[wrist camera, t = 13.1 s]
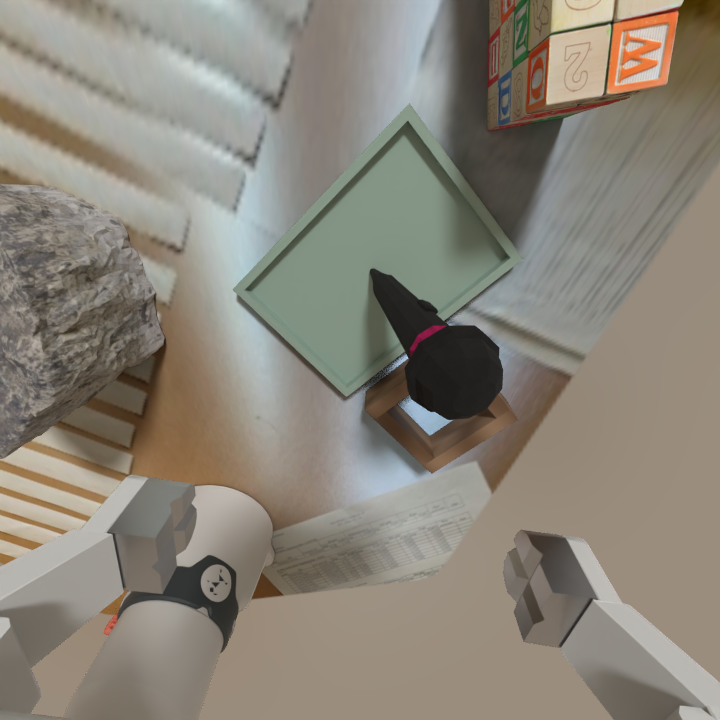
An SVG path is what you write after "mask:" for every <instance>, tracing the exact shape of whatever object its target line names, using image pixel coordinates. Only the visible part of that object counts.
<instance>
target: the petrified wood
mask: <svg viewBox="0 0 720 720" xmlns="http://www.w3.org/2000/svg"><path fill="white" fill-rule="evenodd" d="M155 293H156V292H155V291H154V290H153V288H152V285H151V284H150V282H149V281H148V279H147V278H146V275H145V271H144V268H143V265H142V261H141V259H140V257H139V254H138V252H136V251H135V250H134V249H133V248H132V247H131V244H130V241H129V237H128V233H127V231H126V229H125V227H124V226H123V224H122V222H121V221H120V219H119V218H117V217H115V216H113V215H112V214H110V213H109V212H107V211H105V210H102V209H100V208H98V207H96V206H93V205H90V204H89V203H87V202H86V201H84V200H82V199H81V198H77V197H75V196H73V195H71V194H68V193H66V192H64V191H61V190H59V189H57V188H55V187H42V186H33V185H5V184H0V459H2V458H5V457H7V456H8V455H10V454H11V453H13V452H14V451H16V450H17V449H18V448H20V447H21V446H22V445H24V444H25V443H28V442H30V441H31V440H33V439H34V438H35V437H37V436H40V435H42V434H43V433H44V432H46V431H47V430H48V429H49V428H50V427H51V426H53V425H55V424H56V423H57V422H58V421H60V420H62V419H63V418H65V417H66V416H67V415H69V414H70V413H71V412H73V411H74V410H75V409H76V408H79V407H80V406H82V405H83V404H85V403H87V402H89V400H90V399H91V398H92V397H93V396H95V395H96V394H97V393H98V392H100V391H101V390H102V389H103V388H104V387H105V386H106V385H107V384H108V383H109V382H111V381H113V380H115V379H116V378H117V377H118V375H120V374H121V372H122V371H123V370H124V369H126V368H127V367H132V366H137V365H139V364H140V363H141V362H143V361H144V360H146V359H148V358H149V357H150V355H152V354H153V353H155V352H156V351H157V350H158V349H159V348H160V347H162V346H163V345H164V339H165V337H164V334H163V332H162V330H161V328H160V325H159V322H158V319H157V315H156V309H155V302H154V295H155Z"/></svg>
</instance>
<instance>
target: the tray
mask: <svg viewBox="0 0 720 720" xmlns="http://www.w3.org/2000/svg"><path fill="white" fill-rule="evenodd" d="M522 259H523V258H522V256H521V255H520V254H519V252H518V251H517V249H516V248H515V247H514V245H513V244H512V243H511V241H510V240H509V239H508V237H507V236H506V234H505V233H504V232H503V230H502V229H501V228H500V226H499V225H498V224H497V222H496V221H495V219H494V218H493V217H492V215H491V214H490V213H489V211H488V210H487V209H486V207H485V206H484V204H483V203H482V202H481V200H480V199H479V198H478V196H477V195H476V194H475V192H474V191H473V189H472V188H471V187H470V185H469V184H468V183H467V181H466V180H465V178H464V177H463V176H462V174H461V173H460V172H459V170H458V169H457V168H456V166H455V165H454V163H453V162H452V161H451V159H450V158H449V157H448V155H447V154H446V153H445V151H444V150H443V148H442V147H441V146H440V144H439V143H438V142H437V140H436V139H435V138H434V136H433V135H432V133H431V132H430V131H429V129H428V128H427V127H426V125H425V124H424V123H423V121H422V120H421V118H420V117H419V116H418V114H417V113H416V112H415V110H414V109H413V108H412V106H411V105H410V103H409V104H408V105H407V106H406V107H405V108H404V110H403V111H402V112H401V113H400V114H399V115H398V116H397V117H396V118H395V119H394V120H393V121H392V122H391V123H390V124H389V125H388V126H387V127H386V128H385V130H384V131H383V132H382V133H381V134H380V135H379V136H378V137H377V138H376V139H375V140H374V141H373V142H372V143H371V144H370V145H369V146H368V147H367V149H366V150H365V151H364V152H363V153H362V154H361V155H360V156H359V157H358V158H357V159H356V160H355V161H354V162H353V163H352V164H351V165H350V166H349V168H348V169H347V170H346V171H345V172H344V173H343V174H342V175H341V176H340V177H339V178H338V179H337V180H336V181H335V182H334V183H333V184H332V185H331V186H330V188H329V189H328V190H327V191H326V192H325V193H324V194H323V195H322V196H321V197H320V198H319V199H318V200H317V201H316V202H315V203H314V204H313V205H312V207H311V208H310V209H309V210H308V211H307V212H306V213H305V214H304V215H303V216H302V217H301V218H300V219H299V220H298V221H297V222H296V223H295V224H294V225H293V227H292V228H291V229H290V230H289V231H288V232H287V233H286V234H285V235H284V236H283V237H282V238H281V239H280V240H279V241H278V242H277V243H276V244H275V246H274V247H273V248H272V249H271V250H270V251H269V252H268V253H267V254H266V255H265V256H264V257H263V258H262V259H261V260H260V261H259V262H258V263H257V265H256V266H255V267H254V268H253V269H252V270H251V271H250V272H249V273H248V274H247V275H246V276H245V277H244V278H243V279H242V280H241V281H240V282H239V283H238V285H237V286H236V287H235V288H234V289H233V291H234V292H236V293H237V294H238V295H239V296H240V297H241V298H242V299H243V300H244V301H245V302H246V303H247V304H248V305H249V306H250V307H251V308H252V309H254V310H255V311H256V312H257V313H258V314H259V315H260V316H261V317H262V318H263V319H264V320H265V321H266V322H267V323H268V324H269V325H271V326H272V327H273V328H274V329H275V330H276V331H277V332H278V333H279V334H280V335H281V336H282V337H283V338H284V339H285V340H286V341H287V342H289V343H290V344H291V345H292V346H293V347H294V348H295V349H296V350H297V351H298V352H299V353H300V354H301V355H302V356H303V357H304V358H305V359H307V360H308V361H309V362H310V363H311V364H312V365H313V366H314V367H315V368H316V369H317V370H318V371H319V372H320V373H321V374H322V375H323V376H325V377H326V378H327V379H328V380H329V381H330V382H331V383H332V384H333V385H334V386H335V387H336V388H337V389H338V390H339V391H340V392H342V393H343V394H344V395H345V396H346V397H347V396H349V395H350V394H351V393H353V392H354V391H355V390H356V389H358V388H359V387H360V386H362V385H363V384H364V383H365V382H367V381H368V380H369V379H370V378H372V377H373V376H374V375H376V374H377V373H378V372H379V371H381V370H382V369H383V368H384V367H386V366H387V365H388V364H390V363H391V362H392V361H393V360H395V359H396V358H397V357H399V356H400V355H401V354H402V353H404V352H405V350H404V349H403V347H402V345H401V343H400V341H399V339H398V338H397V336H396V334H395V332H394V330H393V328H392V326H391V325H390V323H389V321H388V319H387V317H386V315H385V313H384V312H383V310H382V308H381V306H380V304H379V302H378V300H377V299H376V297H375V295H374V291H373V280H372V278H371V275H370V270H371V269H372V268H375V269H376V270H378V271H380V272H382V273H385V274H387V275H392V276H393V277H394V278H395V279H396V280H398V281H399V282H400V283H401V284H402V285H403V286H404V287H406V288H407V289H408V290H409V291H410V292H411V293H412V294H414V295H415V296H416V297H417V298H418V299H419V300H421V299H423V300H425V301H428V302H430V303H431V304H432V305H433V306H434V307H435V308H436V309H437V310H438V313H437V314H436V315H438V316H439V317H440V318H441V319H442V320H443V321H444V320H446V319H447V318H448V317H450V316H451V315H452V314H453V313H455V312H456V311H457V310H458V309H460V308H461V307H462V306H464V305H465V304H466V303H467V302H469V301H470V300H471V299H472V298H474V297H475V296H476V295H478V294H479V293H480V292H481V291H483V290H484V289H485V288H486V287H488V286H489V285H490V284H492V283H493V282H494V281H495V280H497V279H498V278H499V277H501V276H502V275H503V274H504V273H506V272H507V271H508V270H509V269H511V268H512V267H513V266H515V265H516V264H517V263H518V262H520V261H521V260H522Z"/></svg>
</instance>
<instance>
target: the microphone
mask: <svg viewBox="0 0 720 720" xmlns="http://www.w3.org/2000/svg"><path fill="white" fill-rule="evenodd" d="M370 275H371V278H372V280H373V291H374V295H375V297H376V299H377V300H378V302H379V304H380V306H381V308H382V310H383V312H384V313H385V315H386V317H387V319H388V321H389V323H390V325H391V326H392V328H393V330H394V332H395V334H396V336H397V338H398V339H399V341H400V343H401V345H402V347H403V349H404V350H405V352H406V354H407V356H408V358H409V361H408V363H407V364H406V366H405V368H404V369H405V375H406V382H407V389H408V393H409V395H410V397H411V399H412V400H413V401H415V402H416V403H418V404H419V405H421V406H422V407H424V408H425V409H427V410H428V411H430V412H436V413H438V414H439V415H441V416H442V417H444V418H446V419H448V420H454V419H467V418H471V417H472V416H474V415H476V414H478V413H480V412H481V411H483V410H485V409H487V408H488V407H489V406H490V405H491V403H492V402H493V401H494V399H495V398H496V396H497V395H498V394H499V392H500V391H501V389H502V380H503V368H502V365H501V361H500V359H499V347H498V346H497V345H496V344H495V343H494V342H493V341H492V340H491V339H490V338H489V337H488V336H487V335H485V334H484V333H483V332H482V331H481V330H480V329H479V328H477V327H476V326H449V325H448V324H447V323H446V322H444V321H443V320H442V319H441V318H440V317H439V316H438V315H436V314H437V313H438V310H437V309H436V308H435V307H434V306H433V305H432V304H431V303H430V302H428V301H425V300H423V299H421V300H419V299H418V298H417V297H416V296H415V295H414V294H412V293H411V292H410V291H409V290H408V289H407V288H406V287H404V286H403V285H402V284H401V283H400V282H399V281H398V280H396V279H395V278H394V277H393V276H392V275H387V274H385V273H382V272H380V271H378V270H376V269H375V268H372V269H371V270H370Z"/></svg>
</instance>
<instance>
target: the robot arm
mask: <svg viewBox="0 0 720 720" xmlns="http://www.w3.org/2000/svg"><path fill="white" fill-rule="evenodd" d="M272 536H273V525H272V522H271V519H270V517H269V515H268V513H267V512H266V511H265V509H264V508H263V507H262V506H261V505H260V504H259V503H258V502H256V501H255V500H254V499H252V498H251V497H249V496H248V495H246V494H244V493H242V492H240V491H237V490H234V489H231V488H227V487H223V486H215V485H205V486H194V485H192V484H187V483H181V482H175V481H169V480H163V479H157V478H150V477H143V476H137V475H130V476H128V477H126V478H125V479H124V480H123V481H122V482H121V483H120V484H119V485H118V487H117V488H116V489H115V490H114V491H113V492H112V494H111V495H110V496H109V497H108V498H107V499H106V500H105V502H104V503H103V504H102V505H101V506H100V507H99V509H98V510H97V511H96V512H95V513H94V514H93V516H92V517H91V518H90V519H89V520H88V521H87V523H86V524H85V525H84V526H83V527H82V528H81V529H72V530H70V531H69V532H67V533H65V534H63V535H61V536H59V537H57V538H55V539H53V540H51V541H49V542H47V543H45V544H44V545H42V546H40V547H38V548H36V549H34V550H32V551H30V552H28V553H26V554H24V555H22V556H20V557H19V558H17V559H15V560H13V561H11V562H9V563H7V564H5V565H3V566H2V567H0V720H198V718H199V715H200V712H201V709H202V706H203V703H204V700H205V697H206V694H207V691H208V688H209V685H210V682H211V679H212V676H213V673H214V670H215V667H216V664H217V661H218V658H219V655H220V653H221V652H223V650H224V649H225V647H226V646H227V643H228V641H229V638H230V637H231V635H232V633H233V630H234V627H235V621H236V618H237V615H238V612H240V611H242V610H243V609H246V608H247V607H248V605H249V603H250V601H251V598H252V596H253V593H254V591H255V588H256V586H257V583H258V581H259V578H260V575H261V573H262V570H263V568H264V567H267V566H269V565H271V564H272V562H273V560H274V558H275V553H274V550H273V547H272V545H271V541H272ZM514 543H515V545H516V548H514V549H512V550H511V551H509V552H508V553H507V556H506V558H505V560H504V571H503V574H504V581H505V585H506V588H507V592H508V594H509V595H510V596H511V597H512V598H513V599H514V600H515V601H516V602H517V605H516V608H515V610H514V614H515V617H516V620H517V623H518V626H519V629H520V632H521V635H522V638H523V641H524V642H527V643H533V644H539V645H545V646H551V647H558V648H561V649H560V651H561V652H562V654H563V655H564V656H565V658H566V659H567V660H568V661H569V663H570V664H571V665H572V667H573V668H574V669H575V670H576V672H577V673H578V674H579V676H580V677H581V678H582V679H583V681H584V682H585V683H586V684H587V686H588V687H589V688H590V689H591V691H592V692H593V694H594V695H595V696H596V697H597V699H598V700H599V701H600V703H601V704H602V705H603V706H604V708H605V709H606V710H607V711H608V713H609V714H610V715H611V717H612V718H613V719H614V720H720V683H719V682H718V681H717V680H716V679H715V678H713V677H712V676H711V675H710V674H709V673H708V672H707V671H705V670H704V669H703V668H702V667H701V666H699V664H697V663H696V662H695V661H694V660H692V658H690V657H689V656H688V655H687V654H686V653H685V652H683V651H682V650H681V649H680V648H679V647H678V646H676V645H675V644H674V643H673V642H672V641H671V640H670V639H668V638H667V637H666V636H665V635H664V634H663V633H661V632H660V631H659V630H658V629H657V628H656V627H654V626H653V625H652V624H651V623H650V622H649V621H647V620H646V619H645V618H644V617H643V616H642V615H641V614H639V613H638V612H637V611H636V610H635V609H634V608H632V607H631V606H630V605H629V604H623V603H622V602H621V600H620V598H619V597H618V595H617V593H616V592H615V590H614V588H613V587H612V585H611V583H610V581H609V580H608V578H607V576H606V575H605V573H604V571H603V569H602V568H601V566H600V565H599V563H598V561H597V559H596V558H595V556H594V554H593V553H592V551H591V549H590V548H589V546H588V544H587V543H586V542H585V541H584V540H583V539H582V538H578V537H570V536H563V535H561V536H560V535H556V534H549V533H541V532H532V531H525V530H520V531H519V532H518V533H517V534H516V536H515V538H514ZM124 590H129V591H128V592H127V594H126V595H125V597H124V599H123V601H122V603H121V606H120V607H121V608H120V610H119V612H118V614H116V615H115V616H114V617H113V618H112V619H111V621H110V622H109V623H108V625H107V626H106V628H105V630H104V634H106V635H109V636H108V637H107V639H106V641H105V642H104V644H103V646H102V648H101V649H100V651H99V653H98V654H97V656H96V658H95V659H94V661H93V663H92V664H91V666H90V668H89V669H88V671H87V673H86V674H85V676H84V678H83V679H82V681H81V683H80V685H79V686H78V688H77V689H76V691H75V693H74V694H73V696H72V698H71V699H70V701H69V704H68V706H67V708H66V710H65V713H64V716H63V718H61V717H53V716H46V715H38V714H30V713H31V712H32V710H33V708H34V707H35V705H36V704H37V702H38V701H39V699H40V697H41V695H40V688H39V686H38V683H37V681H36V679H35V676H34V674H33V672H32V670H31V668H32V667H33V666H34V665H35V664H37V663H38V662H39V661H40V660H42V659H43V658H44V657H45V656H46V655H48V654H49V653H50V652H51V651H52V650H54V649H55V648H56V647H58V646H59V645H60V644H61V643H62V642H64V641H65V640H66V639H67V638H68V637H70V636H71V635H72V634H73V633H75V632H76V631H77V630H78V629H80V628H81V627H82V626H83V625H84V624H86V623H87V622H88V621H89V620H91V619H92V618H93V617H94V616H95V615H97V614H98V613H99V612H101V611H102V610H103V609H104V608H105V607H107V606H108V605H109V604H110V603H112V602H113V601H114V600H115V599H116V598H118V597H119V596H120V595H121V594H123V593H124Z"/></svg>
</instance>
